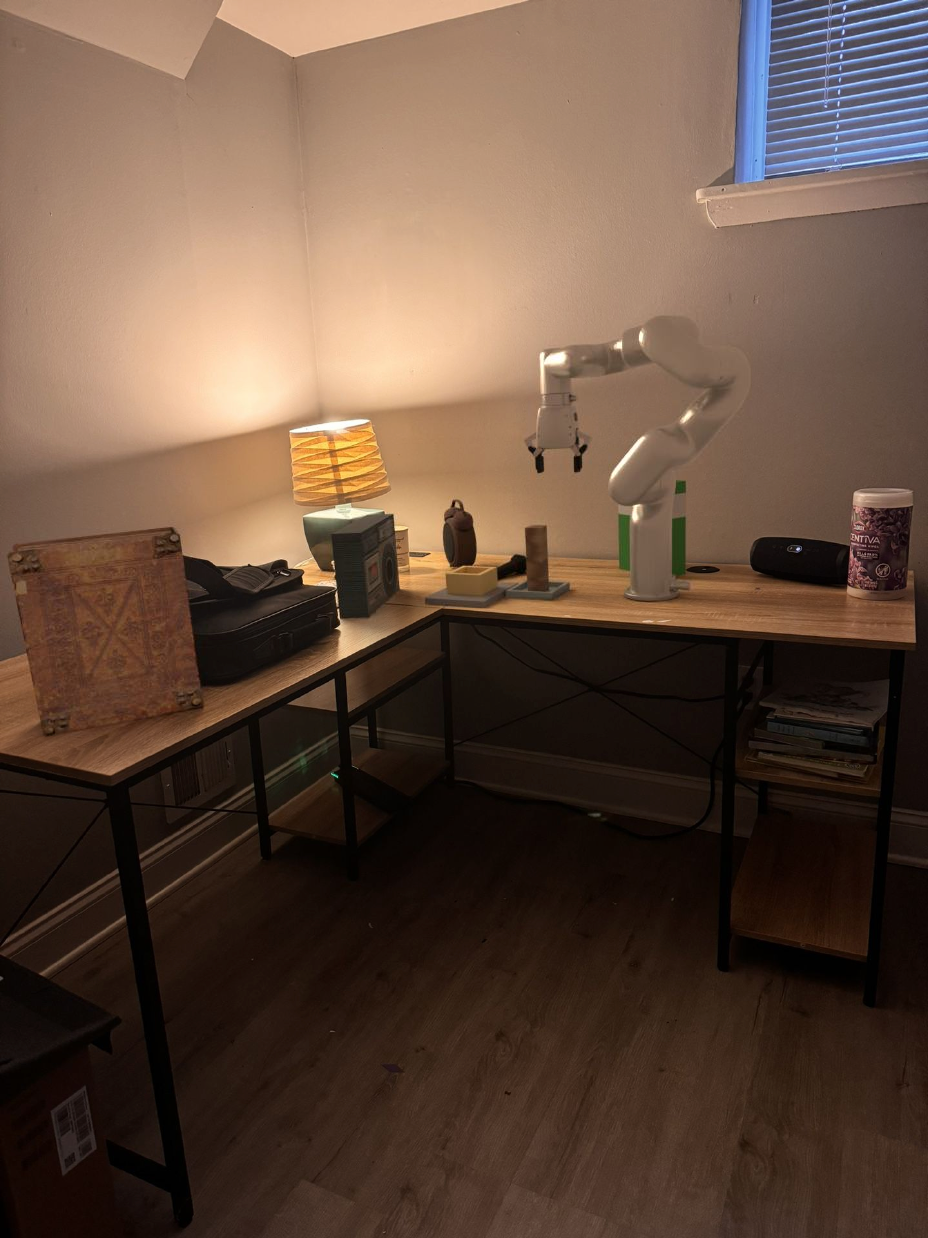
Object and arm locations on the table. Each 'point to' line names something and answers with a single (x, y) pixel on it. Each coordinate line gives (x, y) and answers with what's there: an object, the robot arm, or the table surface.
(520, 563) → the microphone
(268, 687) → the table surface
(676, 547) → the green white tall box
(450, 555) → the alarm clock
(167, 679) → the book
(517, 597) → the tray
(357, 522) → the cassette player
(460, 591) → the yellow socket holder
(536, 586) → the rod
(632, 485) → the robot arm
